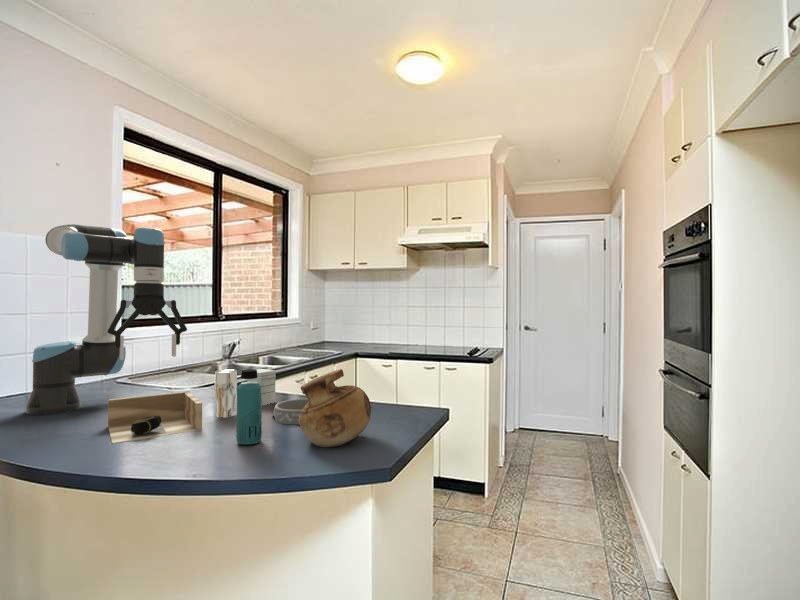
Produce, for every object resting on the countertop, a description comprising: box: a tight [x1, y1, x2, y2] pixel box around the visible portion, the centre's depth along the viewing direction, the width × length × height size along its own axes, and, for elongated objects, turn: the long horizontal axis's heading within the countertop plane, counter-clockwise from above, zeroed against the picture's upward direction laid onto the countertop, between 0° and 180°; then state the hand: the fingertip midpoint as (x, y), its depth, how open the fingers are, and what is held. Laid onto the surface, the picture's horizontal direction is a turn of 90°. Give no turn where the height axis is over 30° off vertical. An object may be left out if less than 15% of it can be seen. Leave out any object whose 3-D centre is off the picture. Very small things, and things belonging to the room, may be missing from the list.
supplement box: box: [246, 368, 277, 407], centre depth 164 cm, size 7×7×13 cm
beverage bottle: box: [235, 368, 263, 445], centre depth 118 cm, size 6×7×20 cm
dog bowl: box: [272, 398, 309, 425], centre depth 144 cm, size 17×18×5 cm
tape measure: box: [131, 416, 161, 434], centre depth 126 cm, size 7×7×4 cm
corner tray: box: [107, 390, 203, 444], centre depth 132 cm, size 20×22×8 cm
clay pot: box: [298, 369, 372, 448], centre depth 119 cm, size 19×19×20 cm
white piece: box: [214, 369, 238, 418], centre depth 147 cm, size 7×7×15 cm
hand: (148, 357), depth 129 cm, fingers open, 12 cm apart
